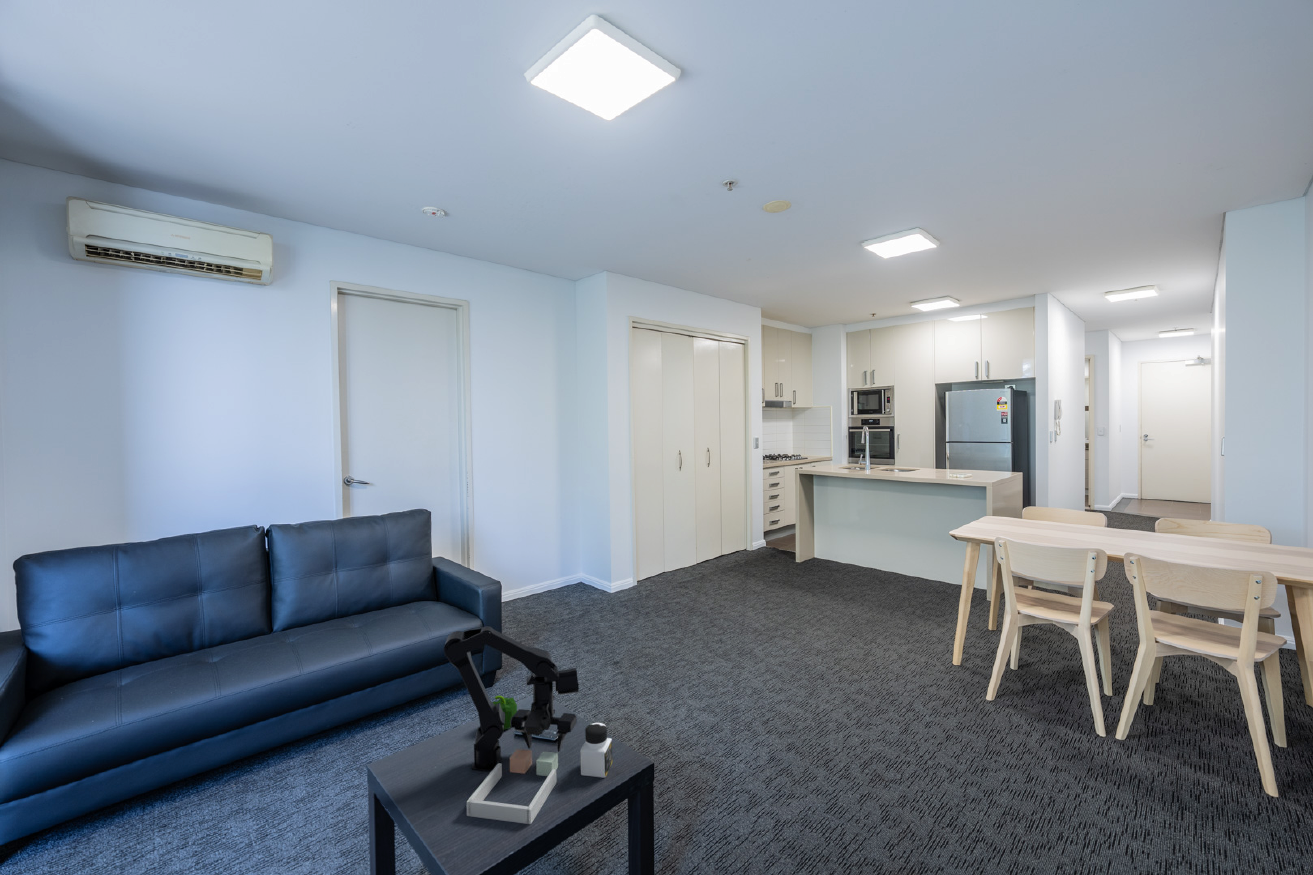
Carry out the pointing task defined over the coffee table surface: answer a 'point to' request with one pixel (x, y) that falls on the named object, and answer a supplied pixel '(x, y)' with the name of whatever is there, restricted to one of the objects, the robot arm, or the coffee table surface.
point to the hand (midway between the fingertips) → (544, 749)
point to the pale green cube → (546, 763)
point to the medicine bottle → (596, 751)
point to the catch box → (507, 811)
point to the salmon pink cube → (520, 761)
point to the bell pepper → (507, 708)
